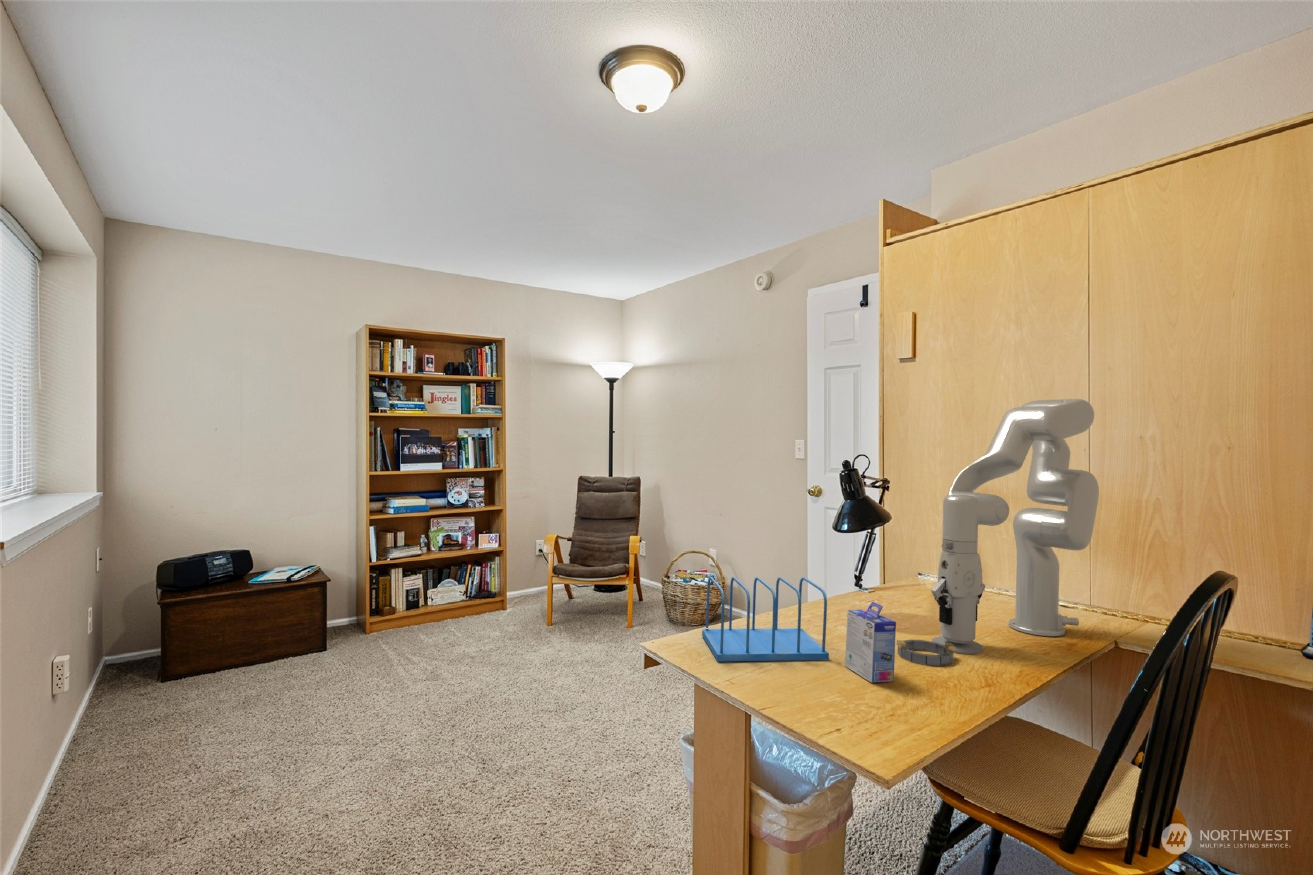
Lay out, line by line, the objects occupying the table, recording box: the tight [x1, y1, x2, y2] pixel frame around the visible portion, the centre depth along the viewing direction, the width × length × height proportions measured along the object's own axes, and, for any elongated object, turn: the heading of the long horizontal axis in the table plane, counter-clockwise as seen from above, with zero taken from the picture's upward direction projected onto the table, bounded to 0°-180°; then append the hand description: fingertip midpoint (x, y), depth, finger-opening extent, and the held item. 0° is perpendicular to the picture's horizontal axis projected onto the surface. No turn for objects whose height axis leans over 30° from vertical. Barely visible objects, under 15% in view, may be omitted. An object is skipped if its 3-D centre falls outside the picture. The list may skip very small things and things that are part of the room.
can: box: [940, 592, 977, 643], centre depth 147 cm, size 8×8×12 cm
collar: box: [896, 639, 955, 667], centre depth 139 cm, size 12×11×3 cm
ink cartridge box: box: [844, 601, 897, 684], centre depth 128 cm, size 10×6×14 cm, turn 16°
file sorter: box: [701, 576, 830, 663], centre depth 143 cm, size 25×17×15 cm
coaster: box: [931, 635, 984, 655], centre depth 147 cm, size 11×11×1 cm
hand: (958, 621), depth 147 cm, fingers closed on can, 7 cm apart
